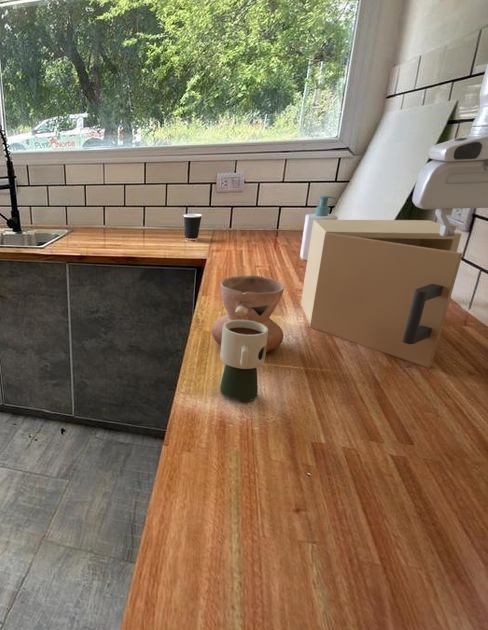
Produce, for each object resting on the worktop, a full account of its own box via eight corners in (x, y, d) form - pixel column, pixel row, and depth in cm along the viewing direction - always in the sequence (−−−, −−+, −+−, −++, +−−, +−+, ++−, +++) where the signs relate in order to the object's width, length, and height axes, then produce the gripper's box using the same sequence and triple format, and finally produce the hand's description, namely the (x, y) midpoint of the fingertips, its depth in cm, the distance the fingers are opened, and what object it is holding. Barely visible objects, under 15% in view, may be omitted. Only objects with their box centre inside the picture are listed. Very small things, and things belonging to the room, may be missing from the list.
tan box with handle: (410, 377, 82) (441, 259, 74) (291, 333, 102) (305, 237, 94) (431, 366, 85) (463, 252, 77) (312, 326, 105) (327, 232, 98)
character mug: (262, 414, 74) (271, 342, 69) (216, 408, 76) (222, 338, 71) (257, 382, 83) (265, 317, 78) (217, 377, 85) (223, 314, 81)
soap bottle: (331, 262, 156) (343, 197, 148) (302, 261, 158) (312, 197, 151) (326, 255, 165) (336, 194, 157) (298, 254, 167) (307, 194, 160)
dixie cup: (203, 240, 197) (205, 215, 193) (187, 242, 196) (188, 217, 192) (195, 237, 204) (196, 213, 200) (179, 239, 203) (180, 214, 199)
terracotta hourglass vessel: (273, 369, 87) (282, 300, 82) (200, 353, 95) (204, 290, 90) (288, 335, 101) (297, 275, 96) (223, 324, 109) (228, 268, 104)
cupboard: (434, 335, 98) (461, 233, 90) (310, 326, 106) (325, 231, 98) (408, 310, 113) (430, 220, 104) (300, 303, 120) (313, 219, 112)
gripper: (579, 139, 67) (550, 230, 72) (418, 148, 74) (401, 232, 79) (612, 140, 62) (577, 239, 67) (434, 150, 68) (415, 240, 73)
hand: (481, 235), depth 73 cm, fingers open, 8 cm apart
